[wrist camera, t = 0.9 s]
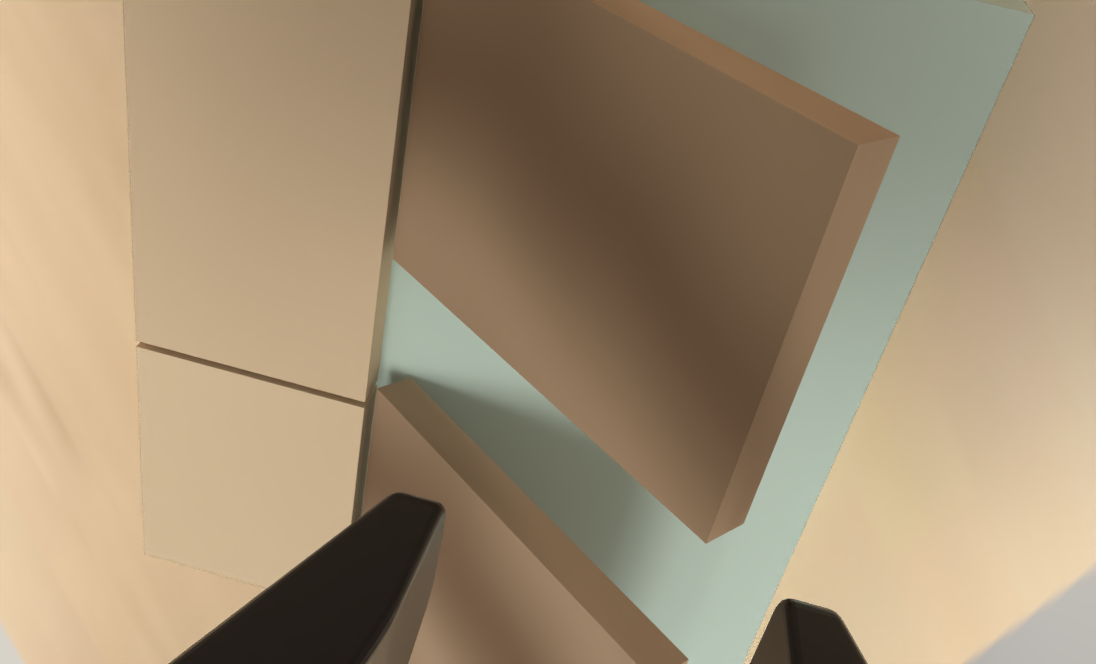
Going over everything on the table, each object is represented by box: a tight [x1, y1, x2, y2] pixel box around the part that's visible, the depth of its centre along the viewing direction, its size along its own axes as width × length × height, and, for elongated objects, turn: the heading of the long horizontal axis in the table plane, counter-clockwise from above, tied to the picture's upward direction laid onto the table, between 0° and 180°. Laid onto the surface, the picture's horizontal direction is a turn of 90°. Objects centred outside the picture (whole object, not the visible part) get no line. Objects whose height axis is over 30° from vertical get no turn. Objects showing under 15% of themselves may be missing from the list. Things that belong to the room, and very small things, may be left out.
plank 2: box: [362, 378, 689, 664], centre depth 20 cm, size 6×8×1 cm
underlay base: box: [123, 0, 1035, 664], centre depth 20 cm, size 16×14×2 cm
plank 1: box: [393, 0, 900, 544], centre depth 15 cm, size 6×8×1 cm
